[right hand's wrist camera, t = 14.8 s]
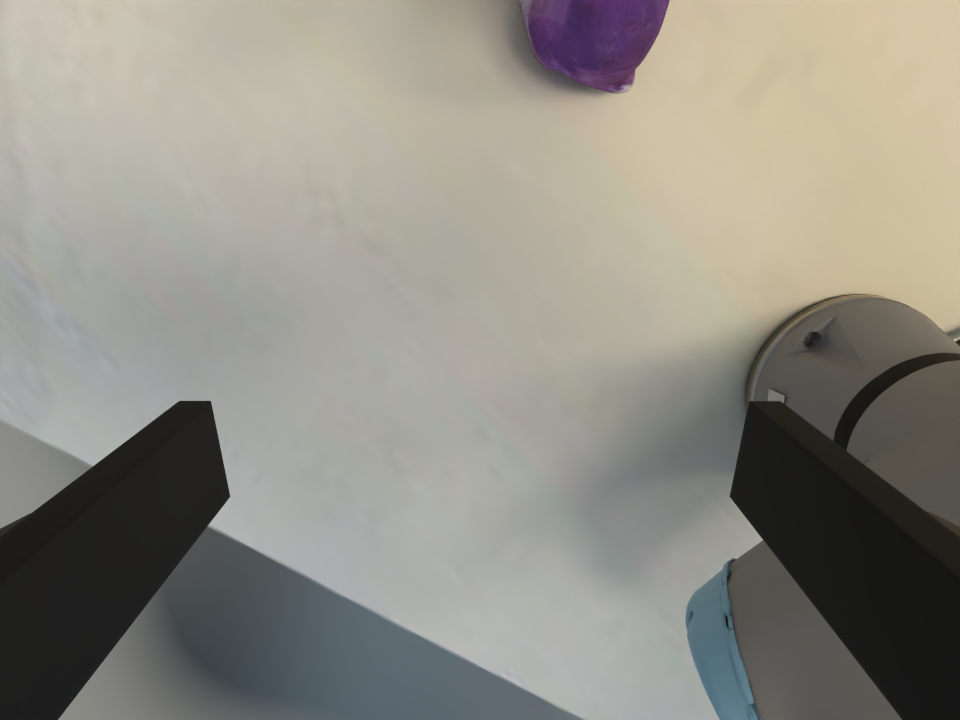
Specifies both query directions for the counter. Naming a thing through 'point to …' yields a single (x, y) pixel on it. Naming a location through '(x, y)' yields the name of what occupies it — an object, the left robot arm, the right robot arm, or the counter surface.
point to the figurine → (594, 38)
